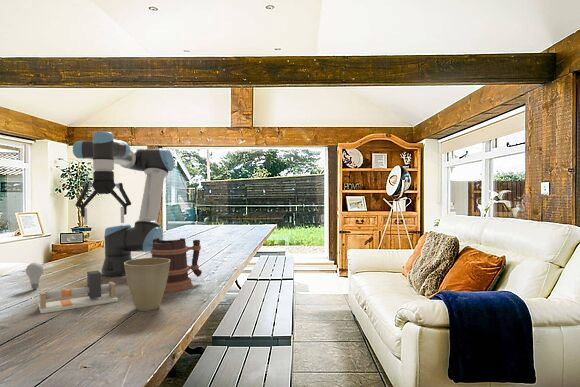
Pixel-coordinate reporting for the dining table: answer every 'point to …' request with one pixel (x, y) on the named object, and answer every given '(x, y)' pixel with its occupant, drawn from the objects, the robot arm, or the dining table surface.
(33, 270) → the lightbulb
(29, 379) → the dining table surface
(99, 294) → the dark grey slider block
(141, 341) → the dining table surface
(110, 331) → the dining table surface
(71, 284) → the dining table surface
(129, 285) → the plant pot
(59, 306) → the rail
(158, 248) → the mug
